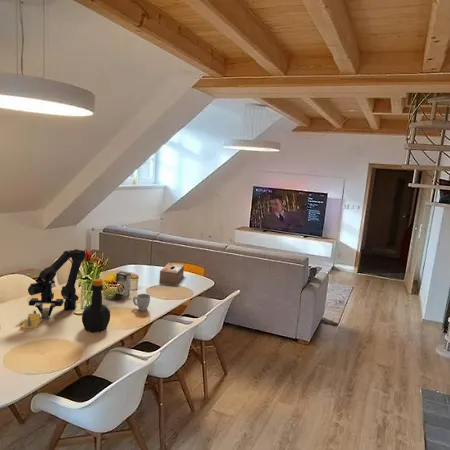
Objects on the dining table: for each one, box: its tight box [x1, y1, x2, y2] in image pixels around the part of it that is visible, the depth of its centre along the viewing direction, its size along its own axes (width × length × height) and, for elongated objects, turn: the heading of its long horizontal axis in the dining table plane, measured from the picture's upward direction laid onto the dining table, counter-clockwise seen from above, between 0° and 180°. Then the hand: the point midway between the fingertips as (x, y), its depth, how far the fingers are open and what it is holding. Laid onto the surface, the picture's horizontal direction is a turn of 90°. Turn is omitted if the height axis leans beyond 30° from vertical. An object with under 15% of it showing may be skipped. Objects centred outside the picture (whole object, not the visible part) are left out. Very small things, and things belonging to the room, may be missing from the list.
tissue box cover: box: [159, 262, 185, 285], centre depth 329 cm, size 26×14×10 cm, turn 173°
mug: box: [132, 293, 151, 312], centre depth 258 cm, size 12×9×10 cm
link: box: [40, 307, 52, 320], centre depth 234 cm, size 4×5×5 cm
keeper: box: [20, 310, 43, 329], centre depth 223 cm, size 8×11×6 cm
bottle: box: [81, 278, 111, 334], centre depth 223 cm, size 16×16×30 cm
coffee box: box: [115, 270, 132, 297], centre depth 283 cm, size 9×6×16 cm
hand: (46, 315), depth 234 cm, fingers closed on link, 4 cm apart
